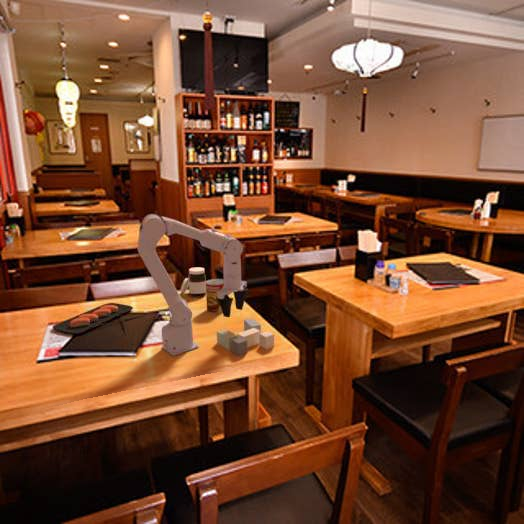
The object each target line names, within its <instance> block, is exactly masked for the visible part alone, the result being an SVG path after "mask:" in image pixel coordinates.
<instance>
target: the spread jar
mask: <svg viewBox="0 0 524 524" xmlns="http://www.w3.org/2000/svg"><path fill="white" fill-rule="evenodd" d="M206 281H207V277H206V274H205V268H204V267H199V266H197V267H191V268H189V269H188V277H185V279H183V281H182V284H181V286H180V292H181V293H183V294H185V293H186V291H187V289H188V293H189V295H190V296H191V297H196V298H197V297H203V296H205V295H206Z"/></svg>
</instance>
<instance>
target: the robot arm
mask: <svg viewBox="0 0 524 524" xmlns="http://www.w3.org/2000/svg"><path fill="white" fill-rule="evenodd" d="M138 232H139V233H138V237H137V238H138V241H137V252H138V255H139V256H140V259H142V261H143V263H144V265H145V266H146V269H147V271H148V272H149V273H150V275H151V278H152V279H153V281H154V283H155V285H156V286H157V288H158V289H159V291H160V293H161V295H162V297H163V298H164V300H165V303H166V304H167V306H168V311H169V313H170V315H171V317H170V318H169V320H168V321H169V322H168V323H167V324H164V325H163V326H162V328H161V340H162V341H161V342H162V345H161V348H162V349H163V350H165V351H166V352H167V353H169V354H170V355H171V356H176V355H179V354H183V353H185V352H188V351H191V350H195V349H197V348H198V349H199V345H198V344H197V343H195V342H194V333H193V319H192V318H193V312H192V309H190V307H189V304H188V302H187V300H186V299H184V298H183V297H181V295H180V293H179V292H178V289H177V288H176V286H175V284H174V282H173V281H172V279H171V277H170V276H169V274H168V272H167V270H166V268H165V266H164V265H163V263H162V261H161V259H160V257H159V255H158V254H157V251H156V249H157V246H158V245H159V244H158V243H159V242H160V240H161V239H162V238H163V237H164V235H167V236H168V237H169V236H171V235H175V234H177V235H181V236H184V237H187V238H190V239H194V240H196V241H199V242H200V245H201V246H202V247H204V248H207V249H209V250H213V251H217V252H218V253H223V254H222V255H223V260H222V263H223V266H222V267H223V280H224V287H223V288H222V289H221V290H220V291H219V292H217V296H216V300H217V301H218V303H219V304H220V306H221V309H222V315H223V317H226V318H230V317H231V310H232V309H231V308H232V304H233V300H234V304H235V309H236V310H239V311H242V310H243V309H244V308H243V307H244V304H245V300H246V297H247V294H248V293H249V288H247V285H248V283H247V281H246V280H242V264H241V263H242V260H241V254H242V253H243V251H244V247H243V244H242V243H241V241H240V240H238V239H237V238H235V237H234V236H232V235H230V234H228V233H226V234H224V233H221V232H218V231H217V230H216V229H215V228H213V227H212V228H211V229H210V228H206V229H203V230H202V229H201V230H200V229H198V228H196V227H193V226H191V225H188V224H187V223H184V222H181V221H178V220H176V219H173V218H169V217H167V216H159V215H158V214H154V213H151V214H147V215H146V216H144V218H143V219H142V220H141V223H140V224H139V229H138ZM231 294H233V296H234V297H230V296H229V295H231Z"/></svg>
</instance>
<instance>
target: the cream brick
mask: <svg viewBox="0 0 524 524" xmlns="http://www.w3.org/2000/svg"><path fill="white" fill-rule="evenodd" d="M259 334H260V331H259V330H257V329H255V328H252V329H249V330H246V331H244V330H243V331H240V332H238V333H236V335H237V338H239V337H242V338H244V339H245V340H247V349H248V348H250V347H253V346H256V345H260V338H259Z"/></svg>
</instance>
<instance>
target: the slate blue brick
mask: <svg viewBox="0 0 524 524" xmlns="http://www.w3.org/2000/svg"><path fill="white" fill-rule="evenodd" d="M252 328H255V329H257V330H259V331H260V333H262V330H261V329H262V325H261V323H259V322H258V321H257V320H256V319H255V318H254V317H249V318H245V319H243V331H246V330H249V329H252Z"/></svg>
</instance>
